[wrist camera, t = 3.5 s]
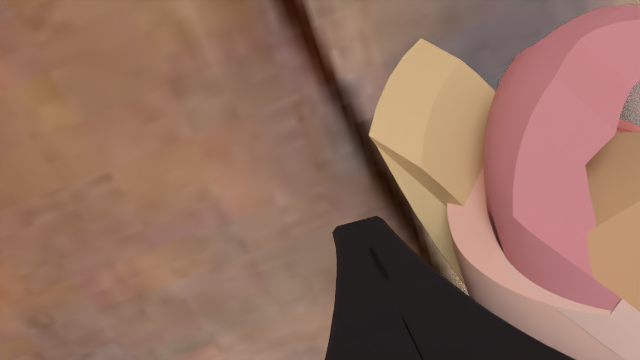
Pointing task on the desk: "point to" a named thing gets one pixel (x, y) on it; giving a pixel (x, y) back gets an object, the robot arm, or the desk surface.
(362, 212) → the desk surface
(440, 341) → the robot arm
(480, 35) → the desk surface
